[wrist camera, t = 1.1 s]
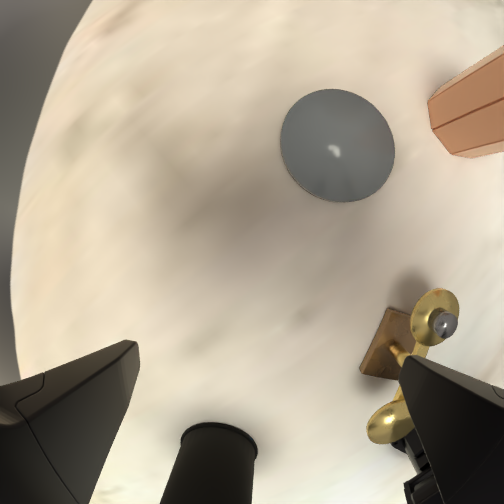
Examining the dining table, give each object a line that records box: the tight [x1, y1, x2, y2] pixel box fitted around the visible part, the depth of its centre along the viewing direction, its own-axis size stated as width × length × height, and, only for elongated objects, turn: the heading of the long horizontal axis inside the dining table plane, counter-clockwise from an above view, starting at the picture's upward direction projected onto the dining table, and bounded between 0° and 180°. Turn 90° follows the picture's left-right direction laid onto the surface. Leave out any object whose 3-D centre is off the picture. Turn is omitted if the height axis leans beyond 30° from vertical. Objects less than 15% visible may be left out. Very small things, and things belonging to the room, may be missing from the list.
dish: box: [280, 89, 395, 202], centre depth 20 cm, size 9×9×1 cm
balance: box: [359, 288, 459, 444], centre depth 19 cm, size 13×4×6 cm, turn 162°
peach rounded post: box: [428, 45, 504, 158], centre depth 14 cm, size 7×7×12 cm
